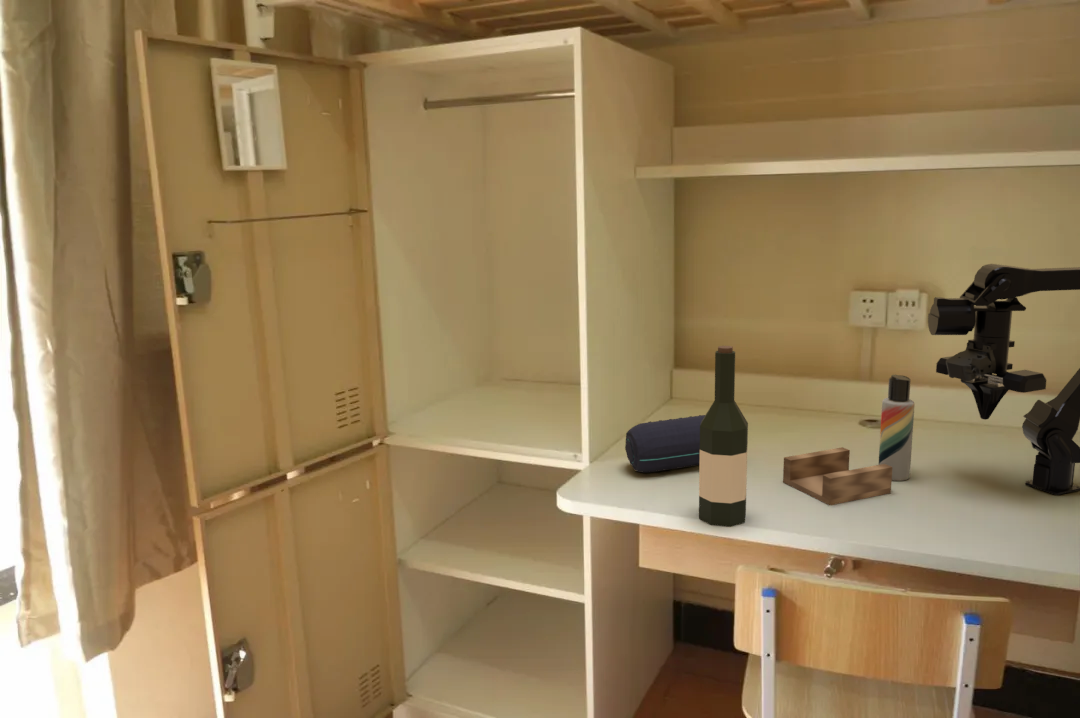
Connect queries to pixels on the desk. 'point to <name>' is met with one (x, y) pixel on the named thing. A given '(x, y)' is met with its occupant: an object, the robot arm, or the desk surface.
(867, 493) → the cradle
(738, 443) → the wine bottle
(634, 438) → the portable speaker
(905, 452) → the lotion bottle
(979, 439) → the desk surface
